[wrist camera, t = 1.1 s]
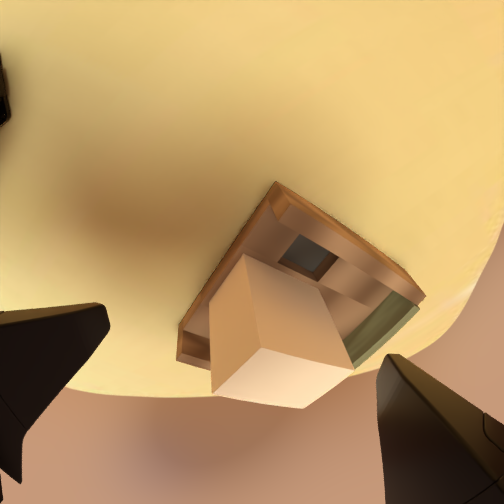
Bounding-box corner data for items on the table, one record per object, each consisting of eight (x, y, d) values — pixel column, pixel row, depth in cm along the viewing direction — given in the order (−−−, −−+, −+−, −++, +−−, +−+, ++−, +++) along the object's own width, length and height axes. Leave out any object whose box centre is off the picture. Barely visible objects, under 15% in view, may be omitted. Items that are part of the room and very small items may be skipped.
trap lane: (178, 325, 24) (175, 365, 20) (275, 181, 18) (293, 207, 14) (309, 364, 30) (319, 396, 26) (404, 270, 24) (429, 299, 20)
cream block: (209, 302, 21) (211, 394, 14) (243, 253, 19) (260, 347, 12) (281, 328, 24) (303, 408, 17) (318, 288, 22) (354, 370, 15)
